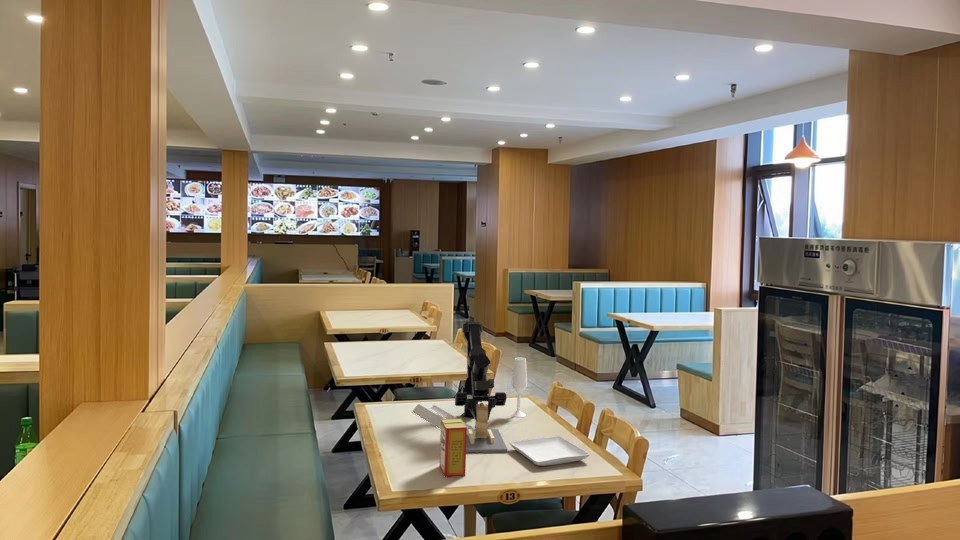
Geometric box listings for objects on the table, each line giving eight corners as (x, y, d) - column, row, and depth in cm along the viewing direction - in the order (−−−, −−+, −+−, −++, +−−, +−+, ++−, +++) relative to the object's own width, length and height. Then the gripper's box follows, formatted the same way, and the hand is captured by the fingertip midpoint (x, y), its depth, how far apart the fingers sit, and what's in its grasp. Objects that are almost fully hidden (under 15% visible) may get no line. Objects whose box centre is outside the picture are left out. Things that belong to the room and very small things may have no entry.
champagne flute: (510, 411, 275) (513, 356, 273) (526, 413, 274) (528, 357, 272) (509, 416, 268) (511, 359, 267) (525, 417, 267) (527, 360, 266)
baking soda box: (465, 476, 203) (466, 426, 202) (444, 477, 202) (446, 427, 200) (459, 465, 212) (460, 417, 211) (439, 466, 211) (441, 418, 210)
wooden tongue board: (475, 434, 237) (476, 402, 236) (485, 434, 237) (487, 402, 236) (476, 438, 233) (477, 405, 232) (487, 437, 234) (488, 405, 233)
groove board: (456, 432, 245) (456, 424, 245) (497, 432, 247) (498, 424, 247) (461, 453, 224) (462, 444, 223) (507, 452, 226) (507, 443, 225)
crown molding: (472, 431, 250) (473, 422, 249) (445, 435, 244) (445, 426, 243) (436, 409, 276) (436, 401, 276) (410, 413, 270) (410, 404, 270)
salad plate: (507, 450, 229) (508, 440, 229) (559, 443, 238) (559, 434, 237) (536, 471, 210) (536, 461, 210) (591, 464, 218) (591, 454, 218)
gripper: (456, 370, 236) (458, 409, 226) (506, 371, 239) (510, 408, 229) (454, 386, 245) (455, 424, 235) (502, 386, 247) (506, 423, 237)
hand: (482, 419), depth 233 cm, fingers closed on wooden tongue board, 4 cm apart
